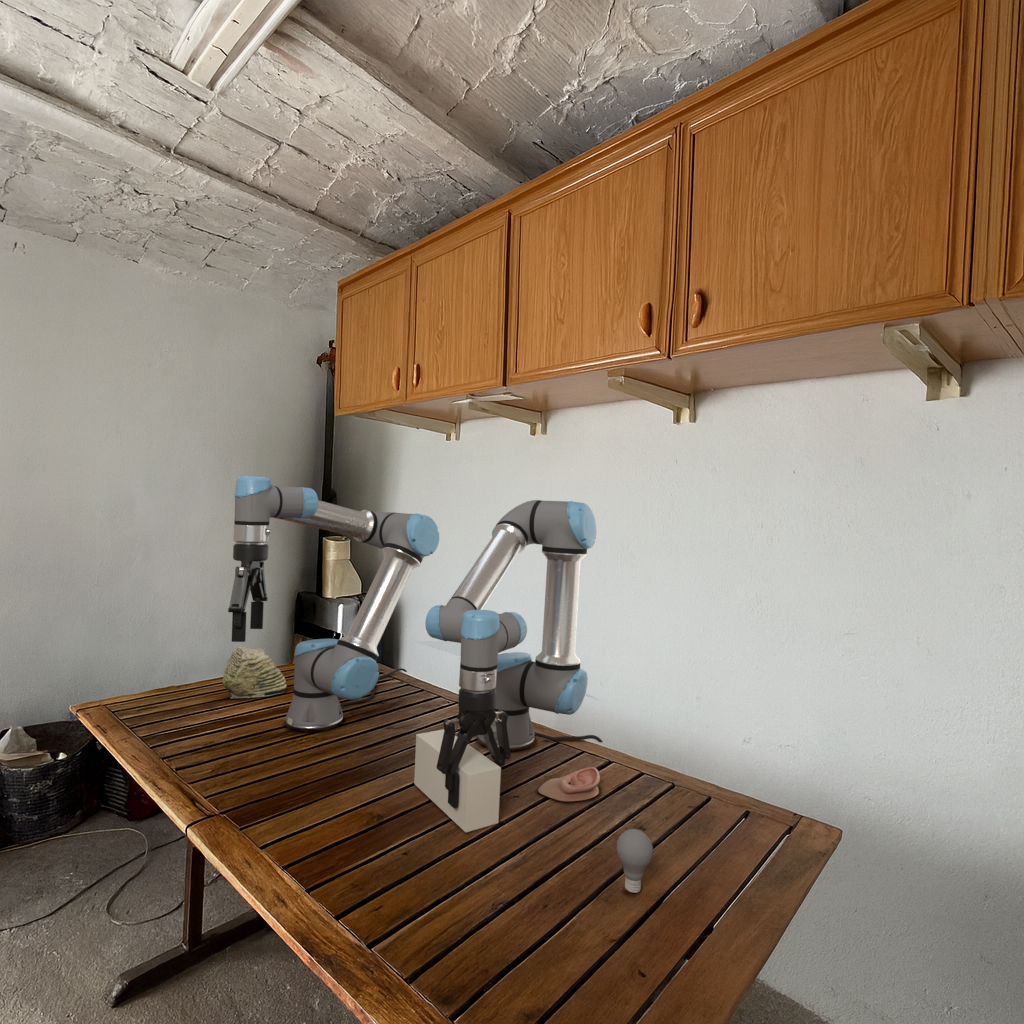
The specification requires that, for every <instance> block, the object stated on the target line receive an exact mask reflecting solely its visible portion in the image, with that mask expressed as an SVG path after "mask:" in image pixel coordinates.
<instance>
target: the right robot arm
mask: <svg viewBox="0 0 1024 1024" xmlns="http://www.w3.org/2000/svg"><path fill="white" fill-rule="evenodd" d="M596 523H597V522H596V519H595V514H594V512H593V510H592V508H591V507H590V505H589V504H587V503H585V502H579V501H573V500H569V501H567V500H565V501H564V500H541V499H534V500H528V501H525V502H522V503H521V504H518V505H516V506H515V507H513V508H512V509H510V510H509V511H508V512H506V513H505V514H504V515H503V516H502V517H501V518H500V519H499V521H497V523H496V524H495V526H494V527H493V529H492V531H491V538H490V540H489V541H488V543H487V545H486V546H485V548H484V549H483V550H482V552H481V553H480V555H479V556H478V557H477V559H476V561H475V562H474V564H473V565H472V567H471V568H470V570H469V571H468V572H467V574H466V575H465V577H464V578H463V580H461V583H460V584H459V586H458V587H457V588H456V590H455V592H454V593H453V594H452V596H451V597H450V599H448V602H447V603H446V604H445V605H444V604H439V605H437V604H436V605H434V606H432V607H430V609H429V610H428V612H427V614H426V616H425V622H424V624H425V630H426V632H427V635H428V636H429V637H431V638H432V639H436V640H439V641H443V642H451V643H459V644H460V661H459V663H460V664H459V679H458V686H459V690H458V701H457V702H458V703H457V705H458V713H457V716H456V717H455V718H453V719H448V718H445V719H444V720H443V729H444V735H443V739H442V744H441V749H440V753H439V758H438V762H437V769H438V770H439V771H440V772H441V773H443V774H445V788H446V789H447V790H448V803H449V804H450V805H451V806H452V807H453V808H454V809H455V808H458V788H459V774H457V773H456V771H457V768H458V766H459V763H460V761H461V759H462V756H463V754H464V752H465V749H466V747H467V745H469V743H470V742H471V741H472V738H474V737H477V741H478V743H479V744H480V745H481V746H483V747H485V748H487V749H488V752H489V754H490V757H491V761H492V762H494V763H495V764H497V765H498V766H499V767H501V772H503V771H502V770H503V767H504V766H505V765H506V760H509V761H510V759H511V758H512V756H511V752H519V751H522V750H523V751H524V750H526V749H530V748H531V747H532V746H534V744H535V740H536V737H538V738H542V739H546V740H549V741H558V742H559V741H582V740H584V741H585V740H591V739H592V740H595V741H597V742H598V743H603V740H602V738H600V737H599V736H597V735H595V734H585V735H579V736H578V735H577V736H576V735H568V736H566V735H565V736H563V735H561V736H551V735H547V734H545V733H540V732H537V731H534V727H533V722H532V718H531V714H530V708H531V709H535V710H541V711H546V712H550V713H554V714H557V715H559V714H562V715H566V716H567V715H569V716H571V715H573V714H575V713H577V711H578V710H579V709H580V708H581V706H582V704H583V701H584V699H585V697H586V692H587V688H588V681H589V680H588V679H589V677H588V672H587V671H586V670H585V669H584V668H581V659H580V658H579V657H578V656H577V654H576V644H577V629H578V627H577V626H578V613H579V612H578V610H579V609H578V608H579V593H580V576H581V575H580V574H581V562H582V560H583V559H584V558H585V557H586V556H587V555H588V549H592V548H593V547H594V545H595V543H596V539H597V524H596ZM529 545H541V553H542V554H543V556H544V557H545V558H546V573H545V591H544V606H543V607H544V608H543V609H544V610H543V625H542V642H541V644H542V645H541V651H540V652H539V653H538V654H537V655H536V656H535V661H533V656H532V654H531V653H528V652H522V651H521V652H520V651H519V652H517V651H515V652H514V651H513V652H504V651H507V650H511V649H514V648H516V647H517V646H518V645H520V644H522V643H523V642H524V641H525V639H526V637H527V634H528V625H527V622H526V620H525V619H524V617H523V616H522V615H521V614H519V613H518V612H514V611H504V612H502V613H498V612H497V611H494V610H490V609H484V607H485V605H486V604H487V602H488V601H489V599H490V598H491V596H492V594H493V592H494V591H495V589H496V588H497V586H498V585H499V583H500V582H501V580H502V579H503V577H504V576H505V574H506V572H507V570H508V568H509V567H510V566H511V564H512V562H513V561H514V559H515V557H516V556H517V554H520V553H522V552H523V551H524V550H525V549H526V547H527V546H529ZM502 652H504V653H502ZM458 726H459V730H458ZM457 731H458V732H457ZM456 732H457V733H456ZM456 734H457V735H456ZM455 736H457V740H456V742H455V744H454V739H455ZM570 736H571V737H570ZM453 744H454V747H453ZM452 748H453V749H452ZM500 779H502V776H501V777H500Z"/></svg>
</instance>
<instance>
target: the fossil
mask: <svg viewBox="0 0 1024 1024" xmlns="http://www.w3.org/2000/svg"><path fill="white" fill-rule="evenodd" d="M222 676H223V677H222V685H223V687H224V688H225V690H226V691H228V693H229V698H230V699H250V698H264V697H271V696H275V695H281V694H284V693H285V691H286V689H287V687H288V686H287V680H286V678H285V676H284V674H283V673H282V672H281V669H279V668H278V667H277V665H276V663H275V662H274V660H273V659H272V658H271V657H270V656H269V655H268V654H267V653H266V652H265V650H264V649H263V648H260V647H258V648H251V647H247V646H246V647H245V646H238V647H237V648H236V649H235V650H233V651H232V653H231V656H230V657H229V659H228V660H227V663H226V666H225V668H224V671H223V675H222Z"/></svg>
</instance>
